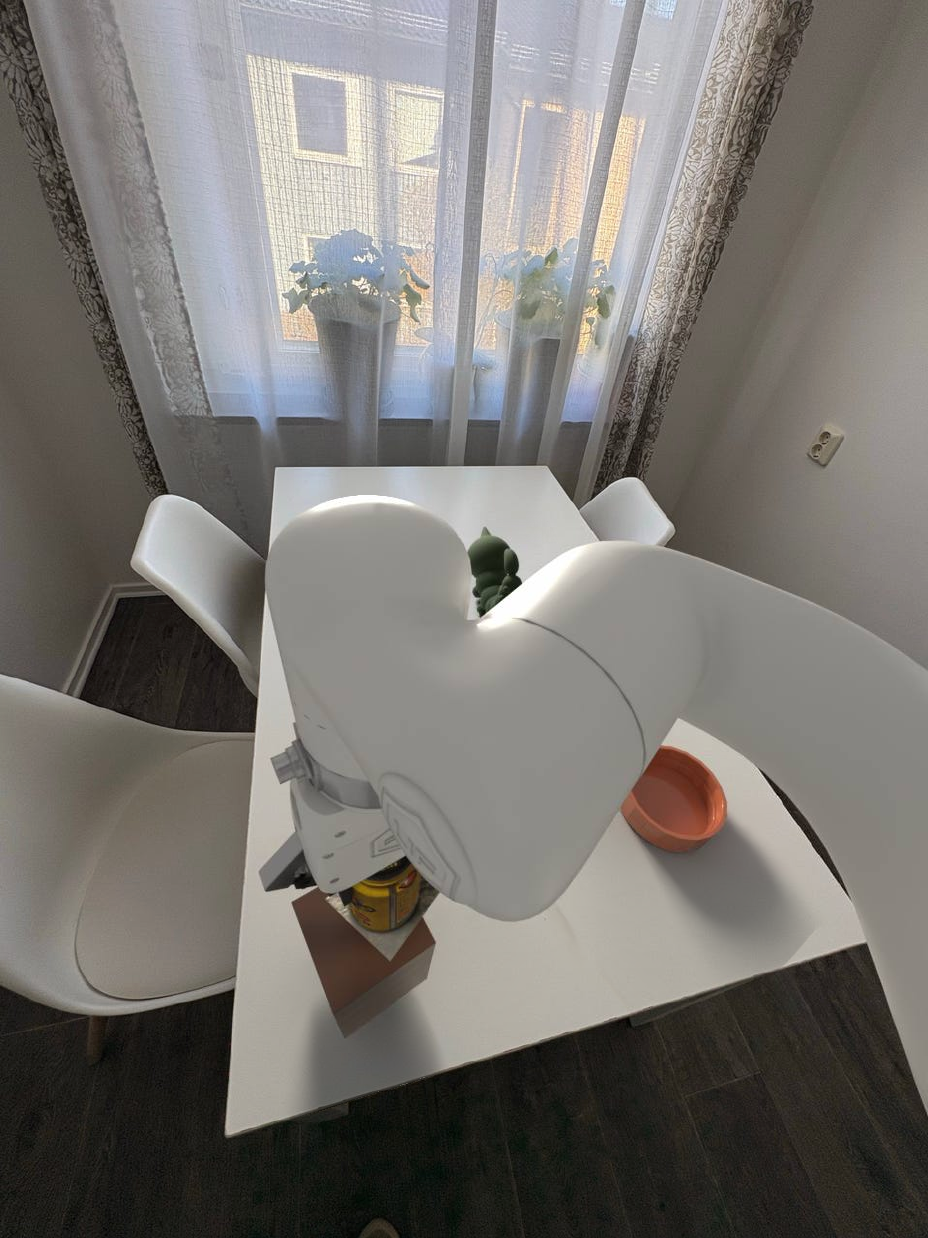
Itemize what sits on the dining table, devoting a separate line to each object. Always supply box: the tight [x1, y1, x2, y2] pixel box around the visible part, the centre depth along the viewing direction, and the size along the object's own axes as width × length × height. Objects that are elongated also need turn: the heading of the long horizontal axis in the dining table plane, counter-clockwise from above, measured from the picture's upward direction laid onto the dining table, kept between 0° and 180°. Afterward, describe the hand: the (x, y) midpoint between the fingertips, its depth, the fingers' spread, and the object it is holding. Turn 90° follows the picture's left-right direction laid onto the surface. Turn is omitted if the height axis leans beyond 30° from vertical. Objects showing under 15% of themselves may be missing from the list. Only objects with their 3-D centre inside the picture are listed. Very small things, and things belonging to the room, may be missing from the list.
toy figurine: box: [466, 526, 523, 615], centre depth 99 cm, size 9×19×25 cm
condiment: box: [325, 856, 441, 961], centre depth 40 cm, size 7×8×12 cm
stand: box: [290, 886, 437, 1039], centre depth 53 cm, size 10×10×16 cm
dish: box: [620, 744, 728, 853], centre depth 75 cm, size 14×14×4 cm
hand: (381, 860), depth 39 cm, fingers closed on condiment, 6 cm apart
